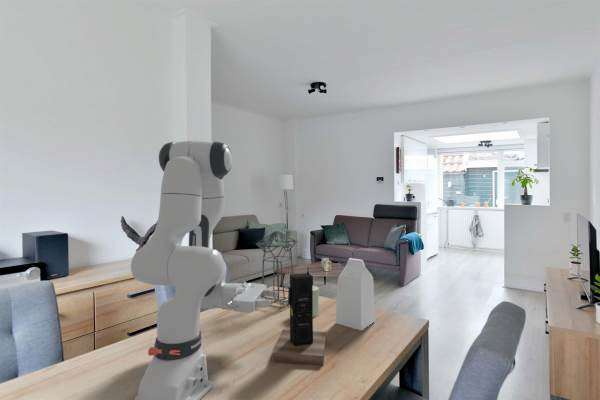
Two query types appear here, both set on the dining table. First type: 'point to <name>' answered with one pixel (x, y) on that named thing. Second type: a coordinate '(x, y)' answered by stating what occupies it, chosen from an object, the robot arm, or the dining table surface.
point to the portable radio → (301, 308)
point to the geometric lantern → (277, 260)
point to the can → (315, 301)
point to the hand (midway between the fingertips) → (274, 298)
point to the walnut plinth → (300, 350)
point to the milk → (355, 296)
